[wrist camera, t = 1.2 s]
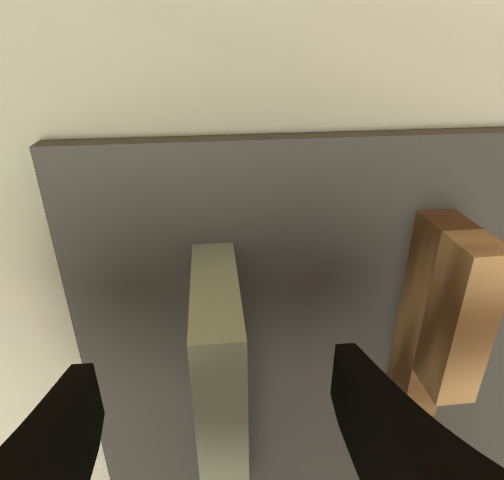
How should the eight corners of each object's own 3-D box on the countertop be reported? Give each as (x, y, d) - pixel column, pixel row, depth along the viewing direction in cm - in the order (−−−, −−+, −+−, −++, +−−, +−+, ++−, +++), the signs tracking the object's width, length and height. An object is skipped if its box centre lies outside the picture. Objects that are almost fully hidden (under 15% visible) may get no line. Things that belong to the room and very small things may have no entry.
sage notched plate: (239, 472, 23) (251, 607, 17) (210, 475, 22) (212, 612, 17) (233, 242, 16) (247, 341, 11) (192, 244, 16) (186, 346, 11)
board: (490, 472, 27) (500, 487, 26) (125, 512, 25) (122, 530, 24) (622, 123, 17) (646, 128, 16) (39, 140, 15) (29, 147, 14)
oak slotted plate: (396, 467, 24) (430, 543, 20) (369, 470, 24) (398, 547, 20) (454, 208, 17) (521, 255, 13) (416, 210, 17) (474, 257, 13)
